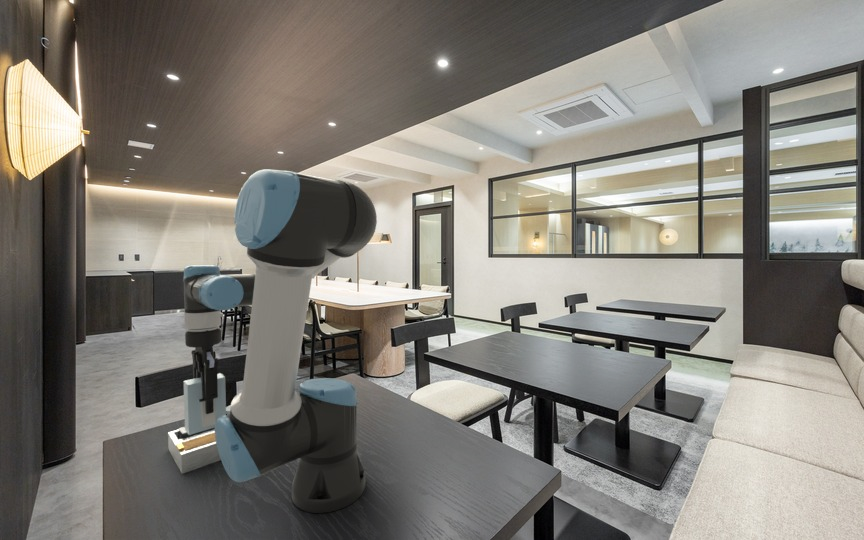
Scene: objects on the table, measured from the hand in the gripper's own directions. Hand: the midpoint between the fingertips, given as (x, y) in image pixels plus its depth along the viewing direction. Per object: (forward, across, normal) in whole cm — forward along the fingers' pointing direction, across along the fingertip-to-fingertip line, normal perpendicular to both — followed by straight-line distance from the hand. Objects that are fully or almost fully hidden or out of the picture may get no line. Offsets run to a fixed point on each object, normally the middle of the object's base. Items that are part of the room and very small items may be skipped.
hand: (206, 421), depth 90 cm
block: (+1, 0, 0) cm, 1 cm away
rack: (+9, +4, 0) cm, 10 cm away
